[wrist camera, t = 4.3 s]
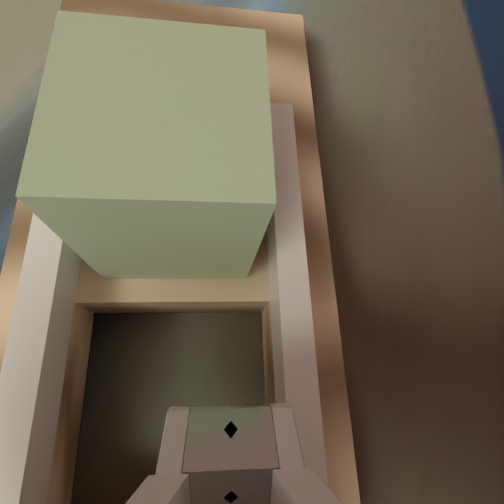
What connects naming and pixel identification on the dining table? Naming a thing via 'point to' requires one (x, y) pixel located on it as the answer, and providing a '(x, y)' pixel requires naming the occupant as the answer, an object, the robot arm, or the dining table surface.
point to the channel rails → (60, 321)
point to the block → (153, 146)
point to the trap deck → (211, 290)
